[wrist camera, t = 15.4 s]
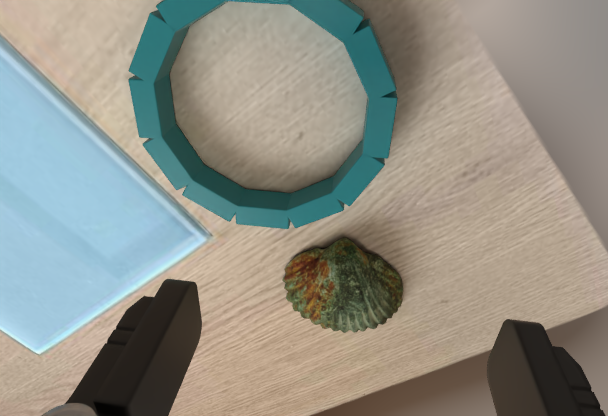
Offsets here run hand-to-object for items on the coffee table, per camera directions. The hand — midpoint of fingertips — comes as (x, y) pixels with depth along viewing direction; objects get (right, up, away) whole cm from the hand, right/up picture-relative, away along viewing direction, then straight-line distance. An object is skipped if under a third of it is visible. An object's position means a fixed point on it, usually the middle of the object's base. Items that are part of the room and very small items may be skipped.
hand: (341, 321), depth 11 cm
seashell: (+2, -3, +24) cm, 24 cm away
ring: (-3, +10, +16) cm, 19 cm away
